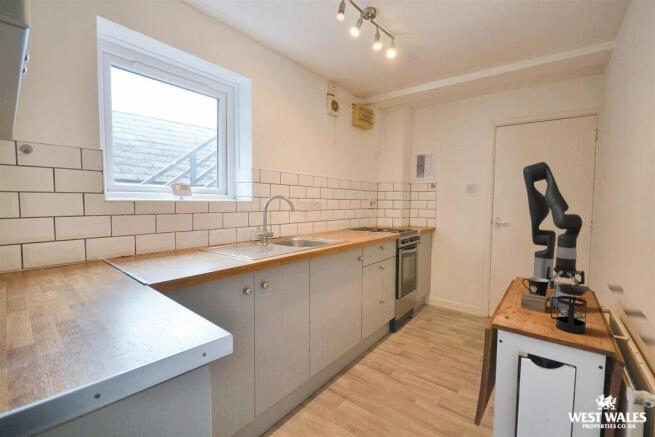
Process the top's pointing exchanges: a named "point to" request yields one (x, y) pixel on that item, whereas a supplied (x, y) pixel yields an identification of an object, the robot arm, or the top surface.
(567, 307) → the stand
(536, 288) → the coffee mug
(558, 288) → the teal rectangular block
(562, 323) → the french press
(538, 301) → the stand
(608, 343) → the top surface
